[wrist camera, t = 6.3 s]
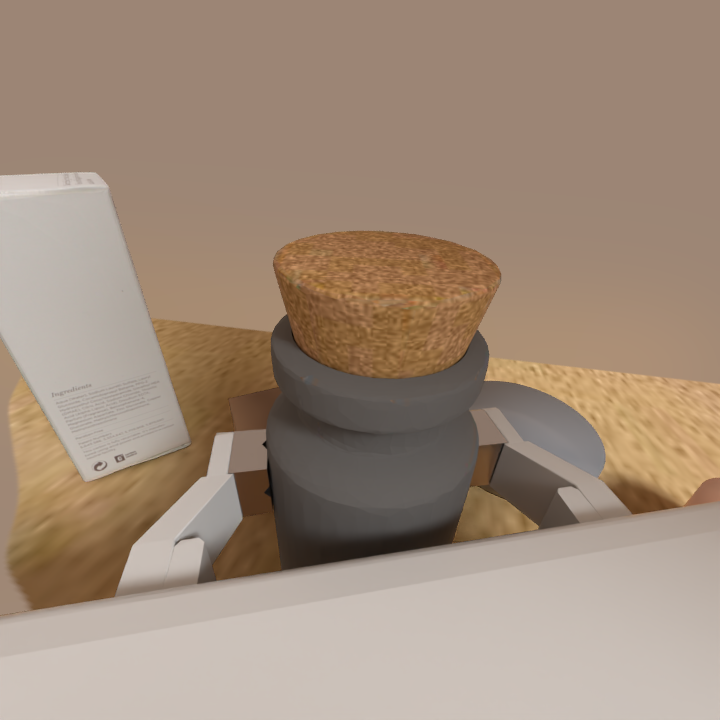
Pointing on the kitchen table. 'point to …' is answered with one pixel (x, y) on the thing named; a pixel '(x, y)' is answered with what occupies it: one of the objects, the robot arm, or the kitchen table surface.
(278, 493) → the bottle
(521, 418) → the grey dome disc
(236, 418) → the walnut block
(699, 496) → the peach rounded short part
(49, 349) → the skincare box
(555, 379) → the kitchen table surface
